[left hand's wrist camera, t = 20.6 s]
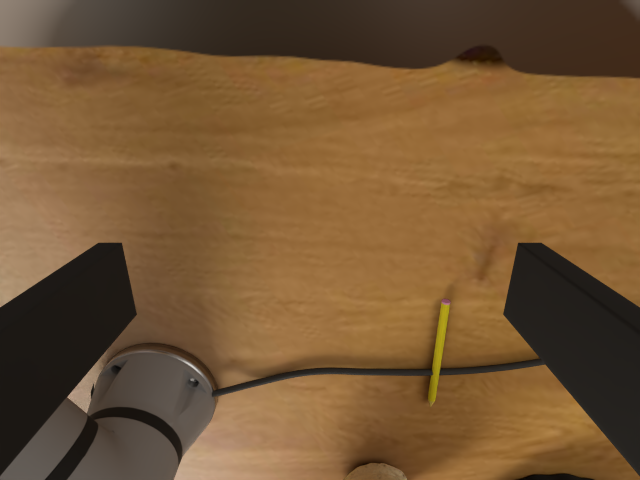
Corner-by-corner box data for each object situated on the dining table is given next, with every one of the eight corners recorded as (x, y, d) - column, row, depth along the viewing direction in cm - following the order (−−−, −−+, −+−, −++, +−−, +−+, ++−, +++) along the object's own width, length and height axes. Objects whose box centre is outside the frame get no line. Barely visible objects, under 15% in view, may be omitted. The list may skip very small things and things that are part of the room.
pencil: (440, 298, 44) (443, 303, 43) (448, 298, 44) (451, 303, 43) (425, 404, 50) (427, 410, 49) (432, 404, 50) (434, 410, 49)
